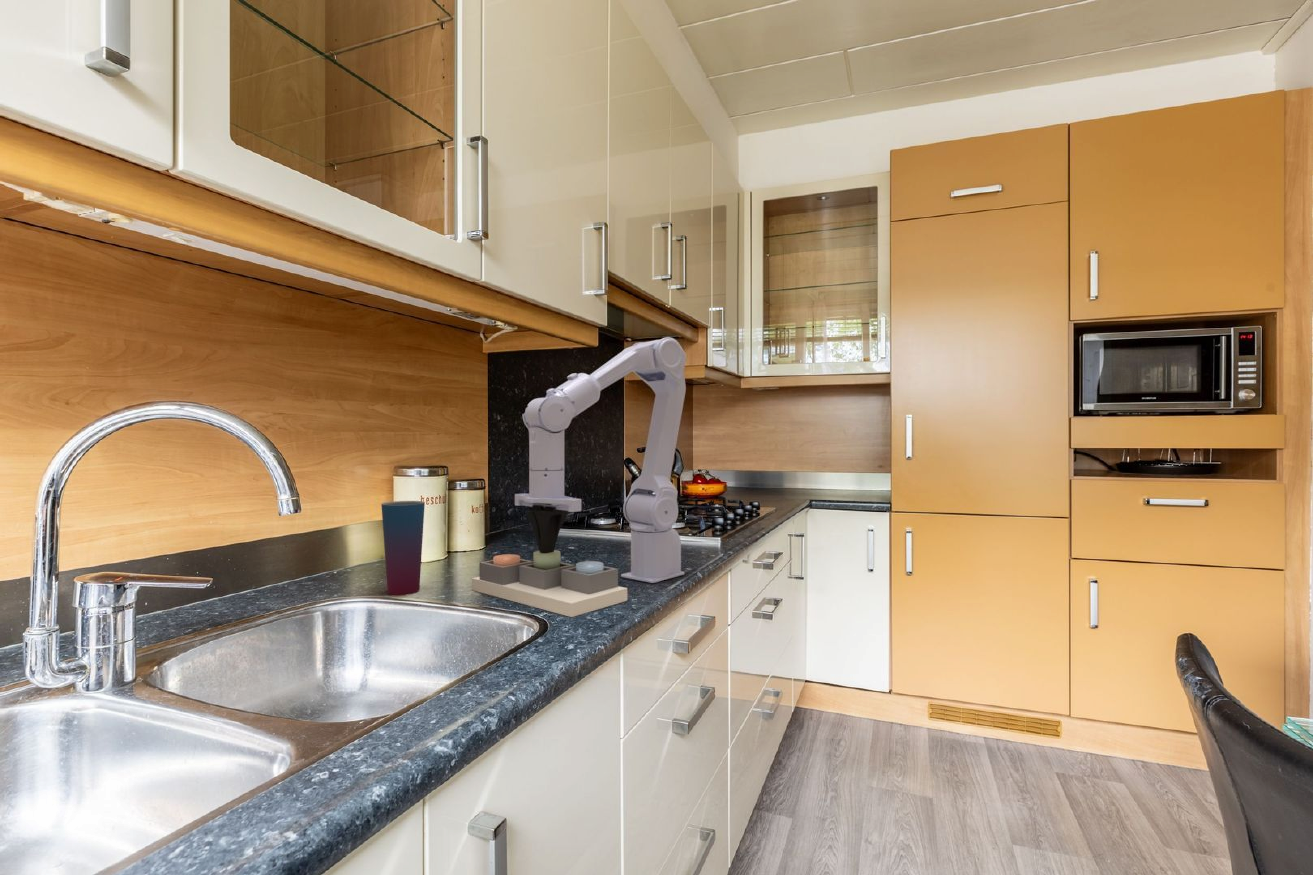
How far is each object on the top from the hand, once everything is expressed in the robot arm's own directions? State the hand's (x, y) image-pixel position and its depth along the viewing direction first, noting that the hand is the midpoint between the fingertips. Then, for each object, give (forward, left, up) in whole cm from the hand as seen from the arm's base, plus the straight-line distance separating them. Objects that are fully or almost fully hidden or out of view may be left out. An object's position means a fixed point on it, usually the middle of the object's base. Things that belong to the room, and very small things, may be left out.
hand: (546, 552), depth 106 cm
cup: (+14, -20, -7) cm, 26 cm away
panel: (0, 0, -7) cm, 7 cm away
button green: (0, 0, -2) cm, 2 cm away
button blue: (-3, +7, -4) cm, 9 cm away
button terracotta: (+2, -7, -4) cm, 9 cm away
